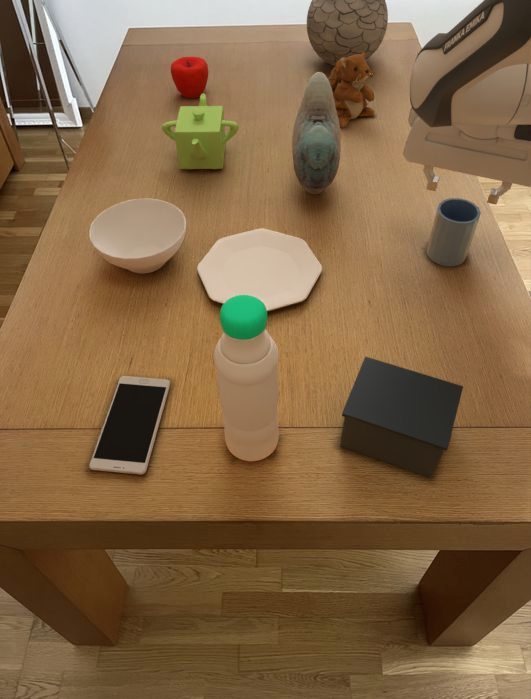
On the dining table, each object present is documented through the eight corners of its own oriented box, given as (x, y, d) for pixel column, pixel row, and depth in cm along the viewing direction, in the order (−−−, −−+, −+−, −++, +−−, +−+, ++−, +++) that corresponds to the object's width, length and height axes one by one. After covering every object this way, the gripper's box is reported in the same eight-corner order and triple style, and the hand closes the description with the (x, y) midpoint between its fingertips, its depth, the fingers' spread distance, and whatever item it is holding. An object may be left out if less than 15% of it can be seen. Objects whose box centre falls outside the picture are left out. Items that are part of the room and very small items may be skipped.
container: (448, 421, 76) (463, 386, 70) (433, 481, 70) (447, 448, 64) (358, 392, 79) (365, 356, 73) (336, 447, 74) (342, 413, 68)
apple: (195, 82, 141) (192, 49, 135) (218, 94, 137) (215, 60, 131) (166, 94, 138) (161, 61, 132) (188, 106, 133) (184, 73, 127)
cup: (469, 246, 99) (483, 203, 92) (462, 270, 95) (476, 227, 88) (431, 237, 101) (442, 194, 94) (422, 260, 97) (433, 217, 90)
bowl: (80, 277, 96) (69, 245, 90) (129, 222, 105) (121, 190, 100) (164, 301, 92) (157, 268, 86) (206, 241, 101) (202, 209, 96)
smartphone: (171, 379, 80) (144, 473, 71) (171, 381, 81) (145, 476, 71) (120, 374, 81) (86, 468, 71) (120, 377, 82) (88, 470, 72)
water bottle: (268, 470, 72) (264, 342, 53) (217, 454, 73) (195, 324, 54) (285, 426, 76) (288, 292, 57) (237, 411, 78) (224, 276, 58)
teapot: (207, 134, 125) (202, 86, 117) (251, 156, 119) (250, 107, 111) (155, 163, 118) (146, 114, 110) (199, 187, 112) (193, 138, 104)
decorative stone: (339, 220, 104) (349, 117, 89) (290, 219, 105) (292, 116, 89) (335, 159, 118) (344, 59, 102) (292, 158, 118) (294, 59, 103)
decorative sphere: (297, 76, 142) (299, -14, 127) (314, 44, 155) (317, -41, 139) (375, 85, 139) (387, -7, 123) (386, 51, 151) (398, -36, 136)
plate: (187, 252, 99) (186, 246, 98) (291, 226, 103) (291, 219, 102) (222, 330, 87) (221, 323, 86) (337, 296, 91) (338, 290, 90)
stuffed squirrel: (343, 130, 125) (348, 70, 115) (309, 104, 133) (311, 45, 123) (379, 119, 128) (388, 59, 118) (344, 94, 136) (349, 35, 126)
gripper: (407, 107, 79) (391, 191, 90) (561, 135, 74) (525, 221, 84) (417, 87, 83) (401, 170, 93) (565, 113, 77) (530, 198, 88)
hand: (461, 195), depth 89 cm, fingers open, 8 cm apart
